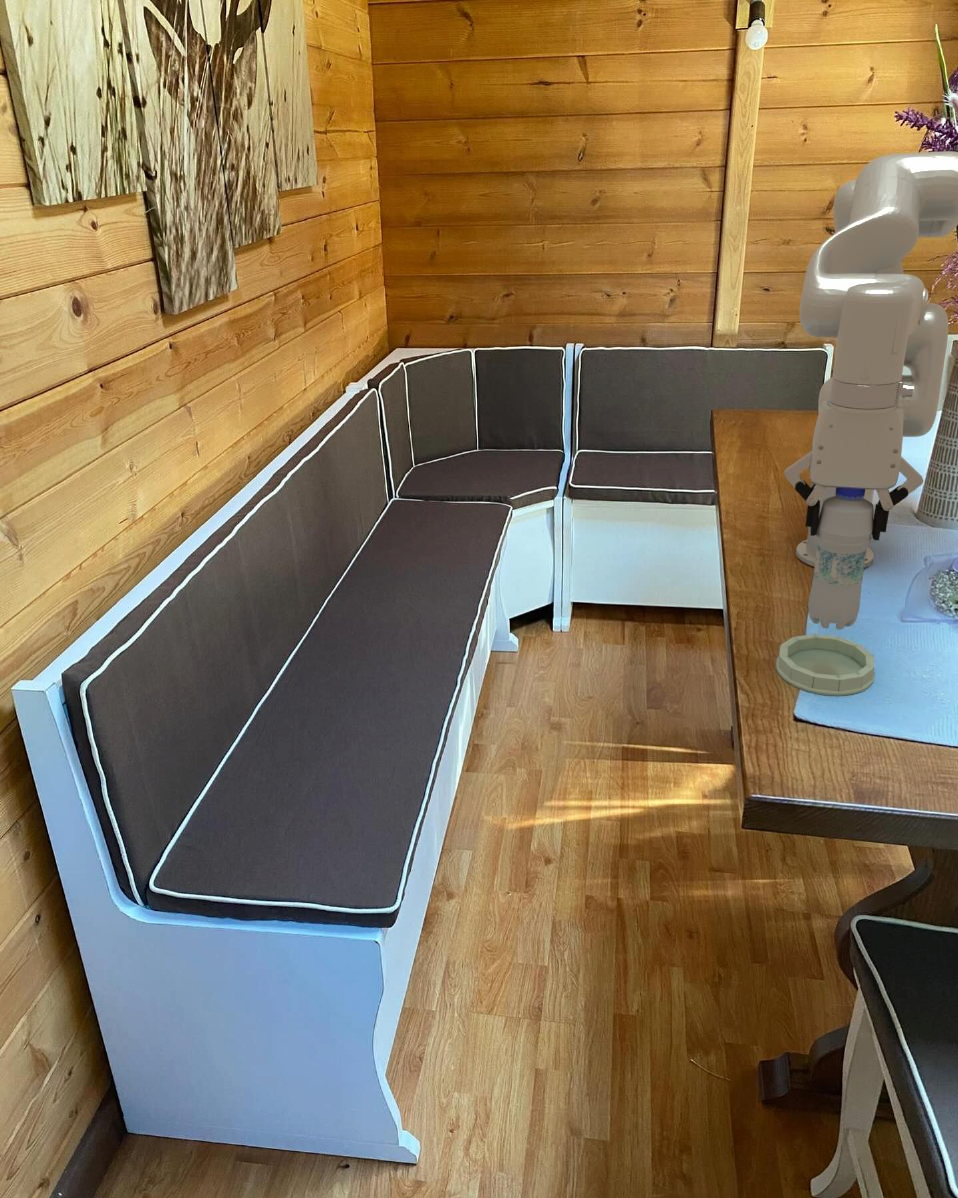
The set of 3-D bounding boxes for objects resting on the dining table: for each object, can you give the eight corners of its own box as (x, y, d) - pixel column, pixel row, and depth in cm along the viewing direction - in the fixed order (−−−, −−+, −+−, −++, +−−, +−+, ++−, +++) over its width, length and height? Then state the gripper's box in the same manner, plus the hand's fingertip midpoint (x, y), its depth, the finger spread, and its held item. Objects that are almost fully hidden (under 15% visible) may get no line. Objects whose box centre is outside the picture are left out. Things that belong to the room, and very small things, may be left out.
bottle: (815, 606, 124) (834, 466, 115) (865, 618, 120) (889, 475, 111) (796, 624, 119) (814, 481, 110) (847, 638, 115) (870, 490, 106)
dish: (777, 643, 130) (779, 629, 129) (871, 654, 126) (873, 639, 125) (774, 688, 119) (776, 673, 118) (876, 701, 116) (879, 685, 115)
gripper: (941, 388, 106) (915, 528, 114) (787, 384, 112) (773, 518, 120) (949, 404, 100) (921, 551, 108) (786, 399, 105) (771, 539, 113)
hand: (844, 533), depth 114 cm, fingers closed on bottle, 6 cm apart
